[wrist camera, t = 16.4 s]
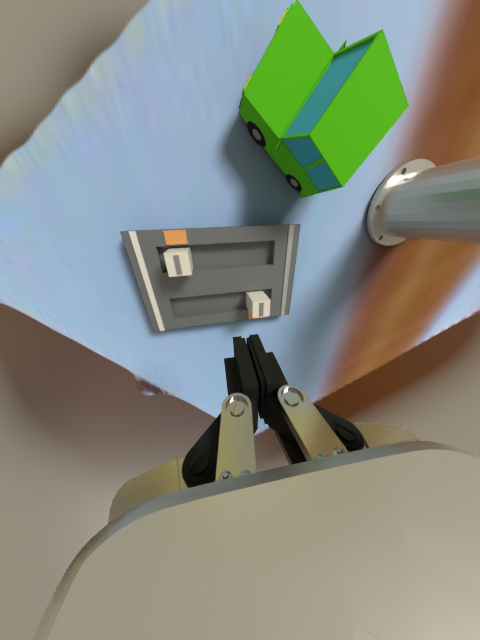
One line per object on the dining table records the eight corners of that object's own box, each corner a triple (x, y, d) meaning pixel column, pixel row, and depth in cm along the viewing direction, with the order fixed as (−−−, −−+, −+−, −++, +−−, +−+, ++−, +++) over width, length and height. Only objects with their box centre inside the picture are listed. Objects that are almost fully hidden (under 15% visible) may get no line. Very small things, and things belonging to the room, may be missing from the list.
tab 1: (190, 247, 26) (187, 252, 22) (193, 266, 28) (191, 275, 23) (169, 248, 26) (163, 253, 21) (174, 268, 28) (168, 277, 23)
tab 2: (261, 289, 32) (271, 300, 28) (260, 303, 34) (270, 316, 29) (245, 290, 32) (252, 302, 27) (245, 305, 33) (252, 318, 29)
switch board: (293, 224, 29) (301, 224, 27) (283, 309, 37) (289, 314, 35) (127, 230, 25) (119, 231, 23) (156, 324, 33) (153, 331, 31)
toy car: (282, 26, 19) (348, -134, 10) (343, 138, 25) (418, 93, 16) (228, 125, 22) (245, 63, 13) (294, 204, 28) (335, 195, 19)
